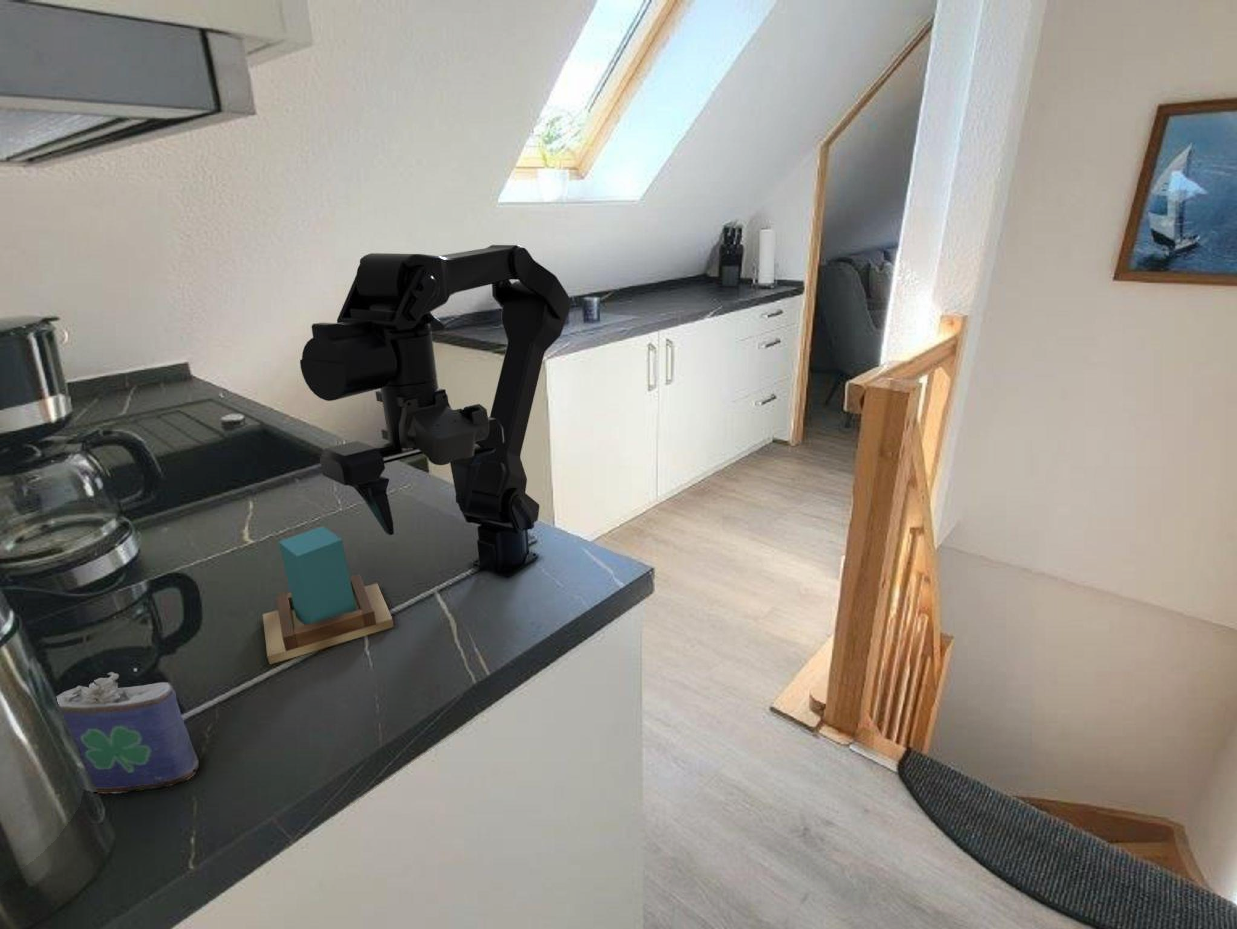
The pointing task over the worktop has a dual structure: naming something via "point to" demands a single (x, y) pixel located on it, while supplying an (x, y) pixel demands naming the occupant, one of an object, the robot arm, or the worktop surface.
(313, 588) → the teal rectangular block
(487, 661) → the worktop surface
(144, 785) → the flask
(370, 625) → the socket pad
